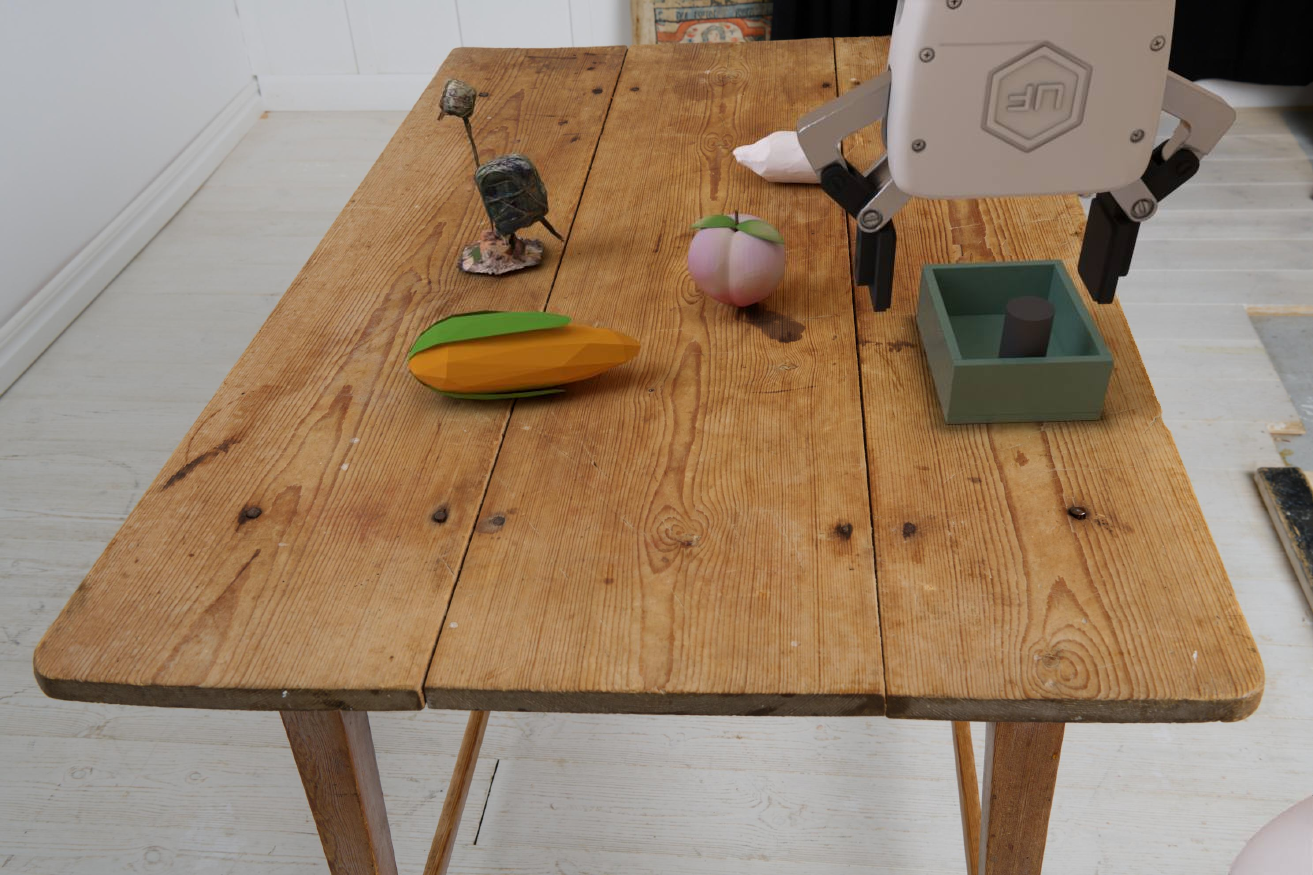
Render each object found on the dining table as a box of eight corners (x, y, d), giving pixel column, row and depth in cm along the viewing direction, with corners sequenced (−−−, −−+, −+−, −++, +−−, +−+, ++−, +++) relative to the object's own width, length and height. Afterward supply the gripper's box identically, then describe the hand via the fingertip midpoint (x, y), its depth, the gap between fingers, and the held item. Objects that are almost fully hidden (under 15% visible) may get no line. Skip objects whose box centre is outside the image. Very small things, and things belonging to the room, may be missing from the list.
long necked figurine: (548, 285, 107) (520, 90, 94) (446, 274, 110) (405, 84, 97) (575, 246, 113) (553, 58, 100) (478, 237, 116) (444, 53, 103)
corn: (404, 297, 91) (636, 279, 91) (423, 366, 97) (642, 349, 96) (392, 350, 86) (639, 332, 86) (413, 420, 91) (645, 403, 91)
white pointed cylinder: (737, 167, 125) (736, 121, 122) (840, 169, 123) (842, 123, 120) (730, 190, 121) (729, 143, 117) (837, 193, 119) (839, 145, 115)
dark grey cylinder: (1032, 377, 89) (1048, 294, 84) (1043, 403, 86) (1060, 319, 81) (988, 378, 89) (1002, 296, 84) (997, 404, 86) (1012, 321, 81)
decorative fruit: (795, 287, 104) (798, 193, 97) (777, 332, 98) (778, 235, 91) (702, 277, 106) (699, 184, 100) (679, 321, 100) (674, 225, 94)
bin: (1099, 420, 85) (1114, 360, 81) (946, 424, 86) (954, 365, 82) (1050, 315, 97) (1061, 259, 93) (915, 319, 98) (921, 264, 94)
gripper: (810, -85, 35) (798, 345, 46) (1353, -117, 34) (1212, 331, 45) (794, -133, 41) (788, 259, 52) (1258, -161, 40) (1153, 245, 51)
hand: (984, 292), depth 48 cm, fingers open, 9 cm apart
